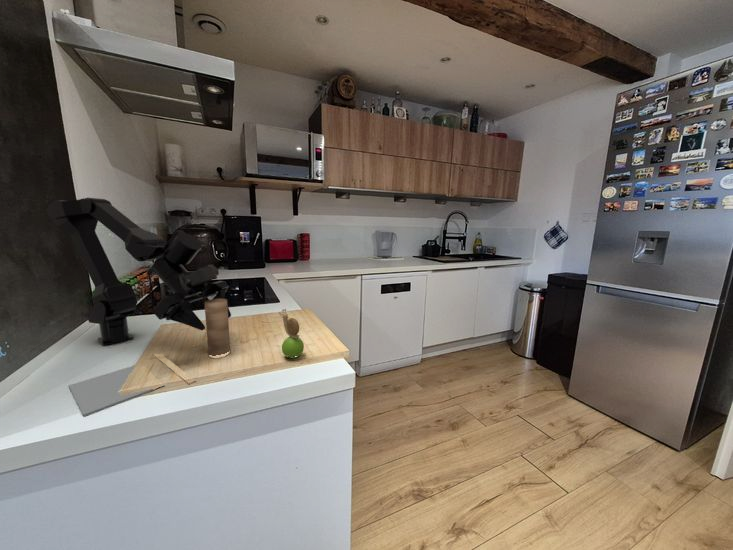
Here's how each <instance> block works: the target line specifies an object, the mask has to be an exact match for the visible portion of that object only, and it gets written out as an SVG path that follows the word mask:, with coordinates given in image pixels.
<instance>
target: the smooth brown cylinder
mask: <svg viewBox="0 0 733 550" xmlns="http://www.w3.org/2000/svg"><path fill="white" fill-rule="evenodd" d="M203 304H204V313H205V330H206V340H207V353H208V354H209V355H212V356H216V355H221V354H225V353H227V352H229V351H230V352H231V341H230V325H229V324H230V323H229V318H228V308H229V305H228V299H226V298H225V299H211V300H207V301H205V300H204V303H203ZM208 354H207V355H208Z"/></svg>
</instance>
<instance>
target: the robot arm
mask: <svg viewBox="0 0 733 550" xmlns="http://www.w3.org/2000/svg"><path fill="white" fill-rule="evenodd" d="M46 211H47V212H46V213H47V214H48V216H49V217H50V219H51V221H52V222H53V223H54V225H55V226H56V228H57V229H59V230H61V231H62V232H64V233H65V234H67V235H68V236H69V237H70V238H71V240H72V242H73V244H74V246H75V248H76V250H77V252H78V254H79V257H80V259H81V261H82V263H83V265H84V267H85V269H86V272H87V274H88V276H89V277H90V280H91V282H92V283H93V286H94V288H93V289H94V290H93V292H92V297H91V300H92V302H93V306H92V307H91V308H90V310H89V311H88V312H87V313H86V315H85V316H86V318H87V320H88V321H87V322H88V323H90V324H98V325H99V331H100V337H97V341H98V342H99V343H100V344H101V345H102V346H110V345H113V344H116V343H117V344H118V343H121V342H126V341H130V340H133V339H134V336H133V335H132V334H131V333H129V325H128V318H127V317H129V316H134V315H135V314H136V310H137V305H138V298H137V296H138V295H137V294H136V292H135V291H134V288H133V286H132V284H131V283H130V282H129V283H127V282H126V283H123V282H122V281H120V280H119V278H118V277H117V273H116V271H115V270H114V268H113V266H112V264H111V262H110V260H109V258H108V256H107V254H106V251H105V249H104V247H103V245H102V243H101V241H100V239H99V237H98V234H97V233H96V229H97V226H98V223H100V224H102V225H103V226H104V227H105V228H107V229H108V230H109V231H110V232H112V233H113V234H114V235H115V236H116V237H118V239H120V240H122V242H124V248H125V250H126V251H127V252H128V253H129V255H130V256H131V257H132V258H133V259H135V261H137V262H149V261H153V263H152V264H149V265H148V266H147V271H146V275H147V276H148V277H152V276H157V277H158V278H159V279H160V280H161V282H163V284H164V285H165V286H166V287H165V288H164V290H165V292H166V293H169V292H172V293H171V294H167V295H164V296H163V297H162V298H161V299H160V300H159V302H158V303H157V304H156V305H155V307H154V308H153V312H154V313H153V314H154V316H155V317H156V318H158V320H164V319H165V320H166V321H174V322H176V323H180V324H184V325H186V326H189V327H192V328H193V329H197V330H198V331H203V330H206V325H204V323H203V322H202V321H201V319H200V318H199V317H198V315H197V314H196V313H195V312H194V311H193V310H192V308H191V303H194V302H197V301H200V300H202V299H203V300H204V302H205V301H207V300H211V299H226V293H227V292H228V289H229V287H230V286H229V284H227V282H226V281H225V280H219V281H215V282H211V283H210V284H209V286H208V282H210V281H212V280H217V279H218V275H219V273H220V272H219V269H218V268H217V267H216V266H214V264H208V265H205V266H204V267H202V268H198V269H196V270H194V271H193V270H190V271H188V270H187V269H186V268H185V267H184V266H185V265H189V264H190V262H192V260H193V259H194V258H195V257H196V255H197V254H198V253H199V252H200V251H201V249H202V247H203V244H202V242H201V241H200V240H199V239H198V238H197V237H195V236H193V235H191V234H189V233H186V232H185V231H184V230H179V229H178V230H176V229H175V230H174V232H172V235H171V237H170V238H169V239H168V240H167V239H166V238H164V237H162V236H160V235H158V234H157V233H154V232H151V231H148V230H145V229H143V228H141V227H140V226H139V225H137V224H136V223H135V222H134V221H133V220H131V219H130V218H128V217H127V216H126V215H125V214H123V213H122V212H121V211H119V210H118V209H117V208H116V207H115V206H113V205H112V203H111V202H110V200H108V199H105V198H99V197H98V198H96V197H83V198H80V199H72V200H61V199H54V200H53V201H52V202H51V203H50V204H48V205H47V208H46ZM207 286H208V287H207ZM205 288H206V289H205ZM231 317H232V313H231V311H230V309H229V307H228V319H229V318H231Z"/></svg>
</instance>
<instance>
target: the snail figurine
mask: <svg viewBox="0 0 733 550" xmlns="http://www.w3.org/2000/svg"><path fill="white" fill-rule="evenodd" d="M281 311H282V312H283V313H282V318H283V326H284V331H285V332H286V334H287V335H288V337H286V338H285V339H284V340H283V342H282V344H281V351H282V353H283V355H284V356H285V357H286V356H288V357H295V356H298V357H299V356H300V354H301V355H302V353H303V352H304V349H305V346H304V345H305V344H304V341H303V340H302V338H300V335H299V333H300V323H299V322H298V320H297V319H296V318H294V317H290V318H289V314H287V312H286V311H287V308H284V309H283V308H282V310H281ZM288 357H287V358H288Z"/></svg>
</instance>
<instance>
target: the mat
mask: <svg viewBox="0 0 733 550" xmlns="http://www.w3.org/2000/svg"><path fill="white" fill-rule="evenodd" d="M135 365H136V364H134V365H131V366H128V367H124V368H121V369H117V370H115V371H111V372H107V373H105V374H101V375H98V376H94V377H91V378H88V379H85V380H81V381H78V382H75V383H72V384H69V385H68V389H69V391H70V392H71V395H72V397H73V399H74V401H75V402H76V404H77V406H78V409H79V411H80V412H81V415H82V417H83V418H84V417H88V416H91V415H93V414H95V413H98V412H101V411H103V410H106V409H108V408H111V407H114V406H116V405H118V404H122V403H125V402H127V401H129V400H133V399H135V398H138V397H140V396H144V395H145V394H148V393H151V392H154V391H155V390H153V389H150V390H144V391H140V392H135V393H132V394H128V395H124V396H120V395H119V394H118V391H119V389H120V388H121V387H122V385H123V384H124V383H125V381H126V379H127V378H128V375H129V374H130V373H131V372H132V370H133V369H134V367H135Z"/></svg>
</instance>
